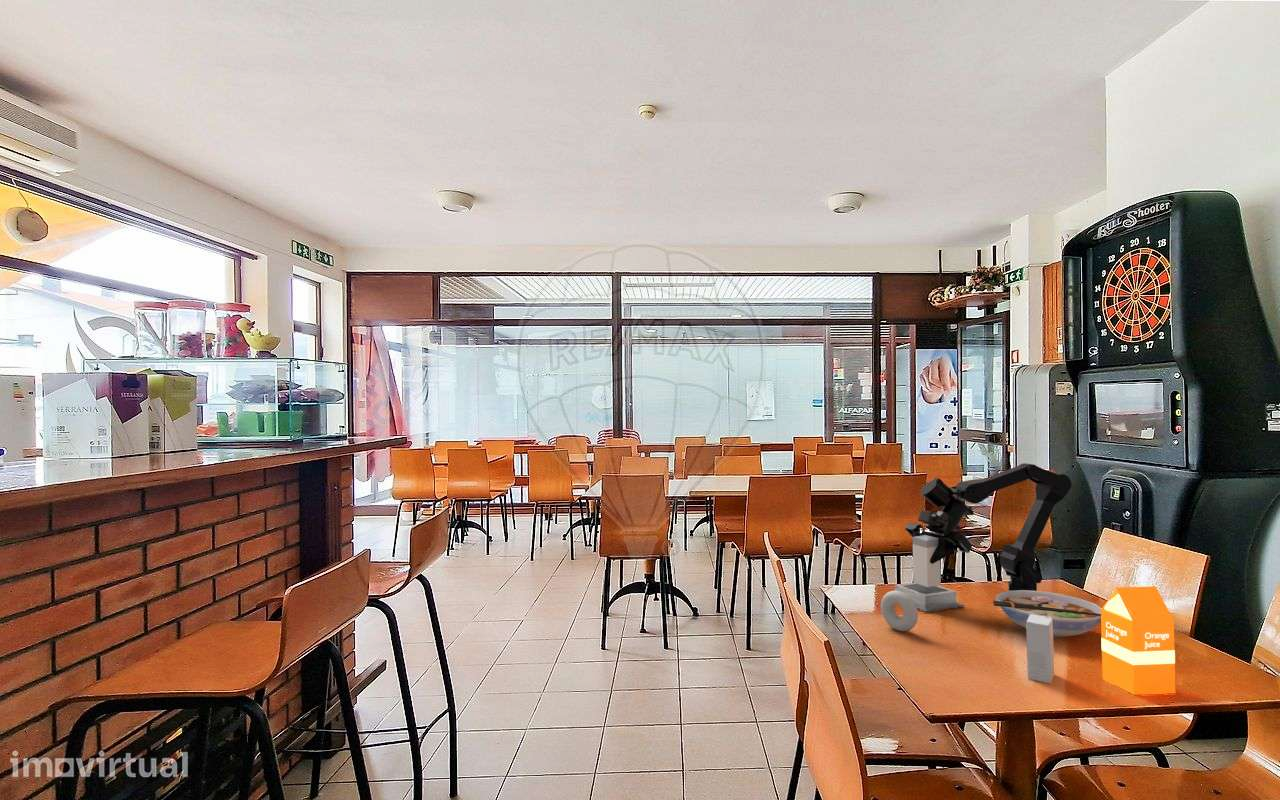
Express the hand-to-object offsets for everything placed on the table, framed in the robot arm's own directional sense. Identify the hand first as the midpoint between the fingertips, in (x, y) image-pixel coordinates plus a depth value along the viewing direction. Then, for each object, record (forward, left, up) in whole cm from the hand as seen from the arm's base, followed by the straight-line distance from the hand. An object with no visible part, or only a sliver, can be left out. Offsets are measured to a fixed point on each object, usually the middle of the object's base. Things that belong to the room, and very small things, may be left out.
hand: (922, 560), depth 173 cm
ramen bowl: (-28, +9, -13) cm, 33 cm away
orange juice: (-39, +36, -13) cm, 55 cm away
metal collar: (0, -5, -13) cm, 14 cm away
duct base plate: (0, -5, -13) cm, 14 cm away
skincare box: (-22, +39, -13) cm, 47 cm away
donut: (+6, +22, -13) cm, 26 cm away
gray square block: (-1, -1, -7) cm, 7 cm away
